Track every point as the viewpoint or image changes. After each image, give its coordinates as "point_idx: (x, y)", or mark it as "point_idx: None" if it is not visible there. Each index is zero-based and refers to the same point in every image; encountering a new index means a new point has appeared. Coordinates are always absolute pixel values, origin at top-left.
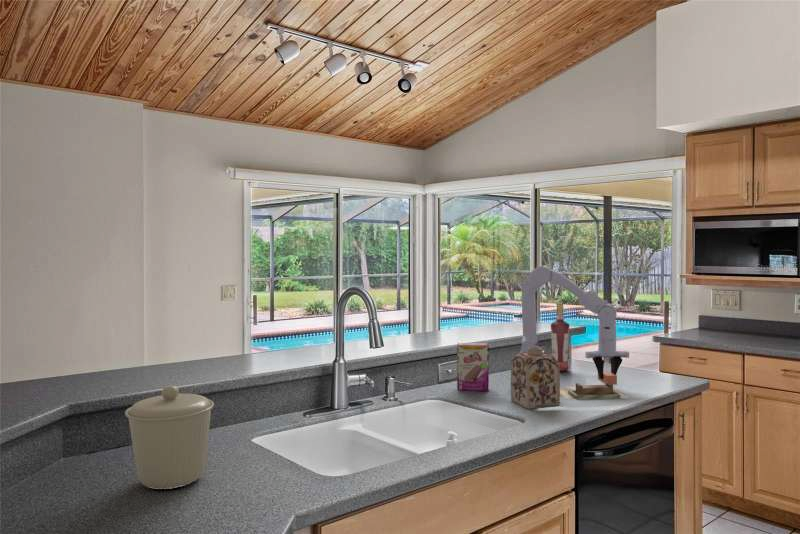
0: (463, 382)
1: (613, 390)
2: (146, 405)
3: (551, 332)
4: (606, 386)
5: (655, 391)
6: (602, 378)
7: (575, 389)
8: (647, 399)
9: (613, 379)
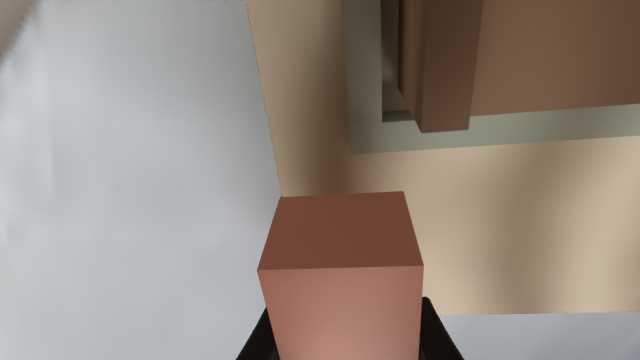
0: None
1: None
2: None
3: None
4: (494, 10)
5: (9, 248)
6: None
7: (629, 242)
8: (41, 3)
9: (313, 232)
